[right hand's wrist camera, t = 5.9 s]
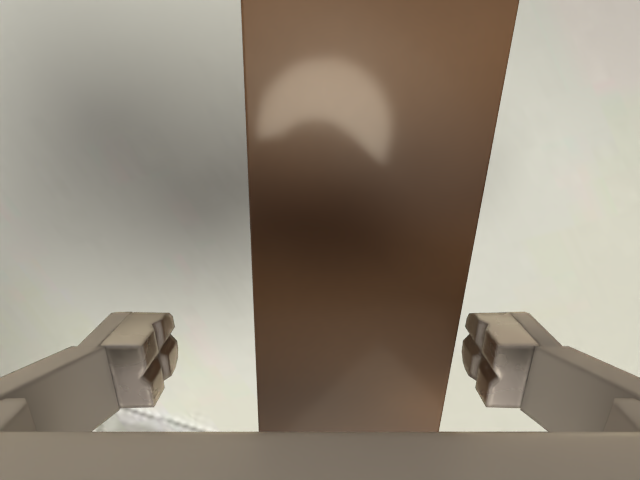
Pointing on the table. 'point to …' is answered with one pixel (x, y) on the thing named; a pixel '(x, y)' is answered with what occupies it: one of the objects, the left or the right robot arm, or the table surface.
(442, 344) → the bar
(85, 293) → the table surface
